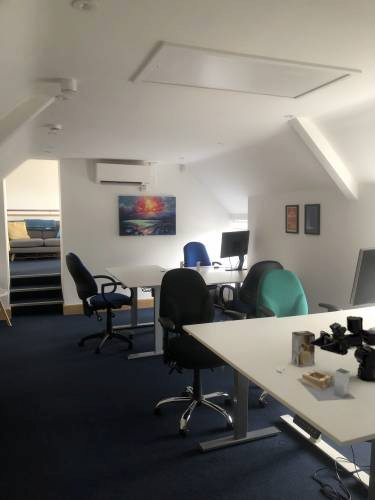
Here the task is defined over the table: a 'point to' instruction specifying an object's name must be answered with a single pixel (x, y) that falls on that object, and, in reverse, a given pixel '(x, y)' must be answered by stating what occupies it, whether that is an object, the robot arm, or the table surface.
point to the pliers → (280, 370)
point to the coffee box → (303, 348)
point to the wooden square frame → (317, 380)
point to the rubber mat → (325, 393)
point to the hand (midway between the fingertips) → (315, 345)
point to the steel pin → (342, 382)
